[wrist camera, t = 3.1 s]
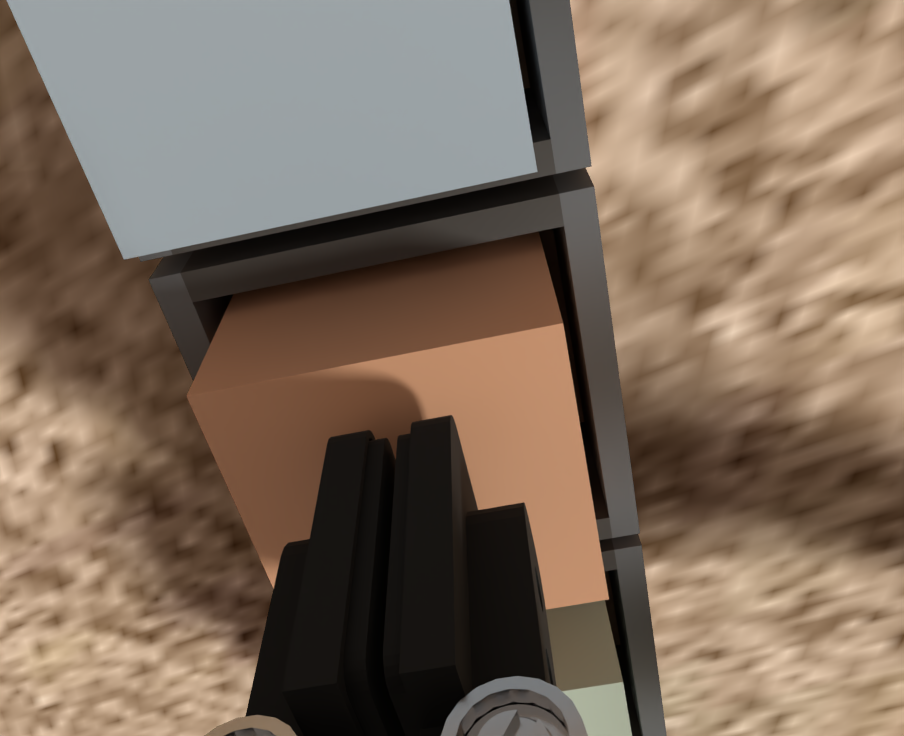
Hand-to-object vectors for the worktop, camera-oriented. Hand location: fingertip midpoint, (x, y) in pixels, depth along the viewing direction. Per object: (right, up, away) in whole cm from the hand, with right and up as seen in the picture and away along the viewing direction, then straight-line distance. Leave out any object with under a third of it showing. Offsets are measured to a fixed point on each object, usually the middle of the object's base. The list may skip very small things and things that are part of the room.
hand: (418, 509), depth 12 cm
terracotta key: (0, +2, +4) cm, 5 cm away
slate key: (-2, +8, 0) cm, 8 cm away
